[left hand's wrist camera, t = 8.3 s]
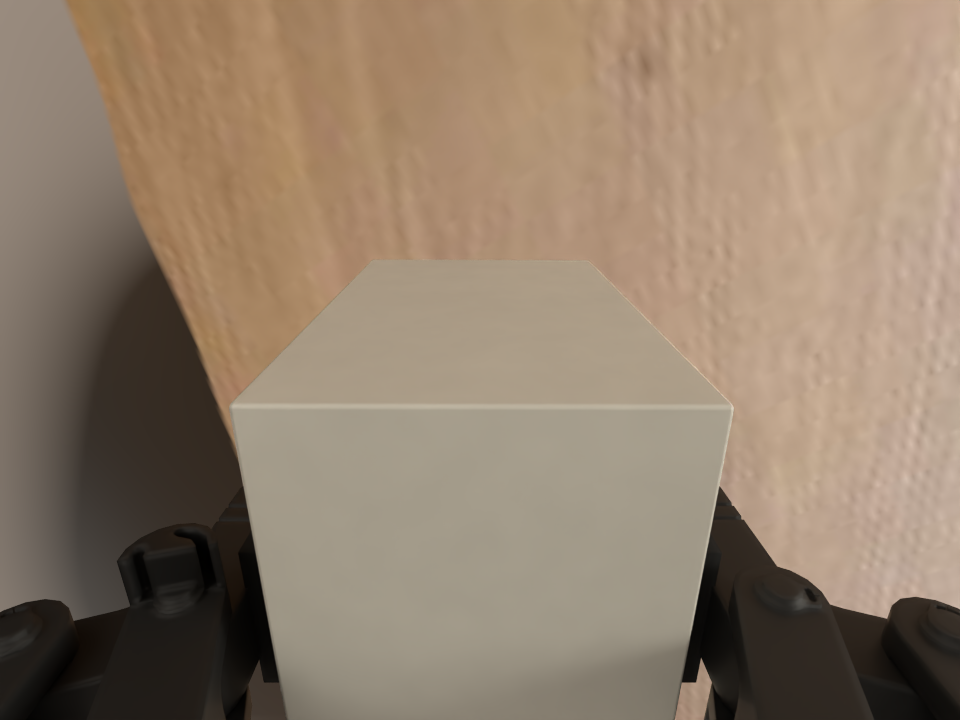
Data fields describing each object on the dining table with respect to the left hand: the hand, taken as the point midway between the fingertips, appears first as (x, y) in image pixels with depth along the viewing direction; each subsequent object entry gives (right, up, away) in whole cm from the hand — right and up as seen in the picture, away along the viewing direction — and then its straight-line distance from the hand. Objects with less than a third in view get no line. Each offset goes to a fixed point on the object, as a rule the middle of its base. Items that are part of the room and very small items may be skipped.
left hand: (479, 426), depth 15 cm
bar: (0, -6, +3) cm, 7 cm away
